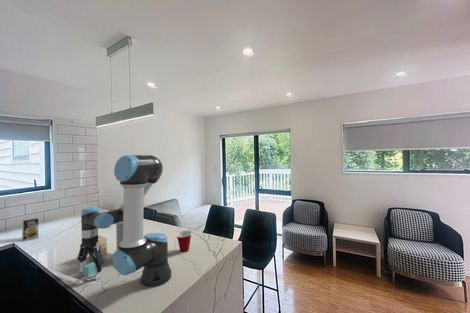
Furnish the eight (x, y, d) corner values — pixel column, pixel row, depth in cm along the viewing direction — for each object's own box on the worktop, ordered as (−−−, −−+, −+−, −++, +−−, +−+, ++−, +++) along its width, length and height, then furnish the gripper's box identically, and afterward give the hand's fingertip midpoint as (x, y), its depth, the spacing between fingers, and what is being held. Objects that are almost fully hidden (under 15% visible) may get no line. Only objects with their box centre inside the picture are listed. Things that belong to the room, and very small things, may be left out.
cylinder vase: (133, 254, 142) (132, 216, 143) (142, 259, 134) (142, 219, 135) (113, 261, 133) (112, 221, 133) (122, 267, 125) (121, 224, 125)
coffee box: (23, 241, 173) (23, 221, 173) (22, 239, 177) (22, 220, 177) (38, 238, 180) (38, 218, 180) (37, 236, 184) (36, 217, 184)
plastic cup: (173, 251, 145) (172, 233, 146) (186, 246, 154) (185, 229, 154) (182, 255, 138) (181, 237, 139) (195, 250, 146) (195, 232, 147)
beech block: (106, 246, 137) (106, 237, 137) (95, 251, 131) (95, 241, 131) (99, 245, 140) (99, 236, 140) (88, 249, 134) (88, 239, 134)
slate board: (119, 258, 137) (119, 255, 137) (90, 271, 121) (90, 268, 121) (101, 253, 145) (101, 251, 145) (72, 265, 128) (72, 263, 128)
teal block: (98, 274, 117) (97, 263, 117) (88, 279, 112) (88, 268, 113) (92, 273, 119) (92, 262, 119) (82, 277, 115) (82, 266, 115)
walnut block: (106, 256, 137) (106, 246, 137) (95, 260, 131) (95, 251, 131) (100, 254, 140) (99, 245, 140) (88, 258, 134) (88, 249, 134)
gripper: (111, 236, 114) (111, 276, 114) (83, 231, 125) (84, 268, 124) (97, 241, 108) (97, 284, 107) (69, 235, 118) (69, 274, 118)
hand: (90, 275), depth 116 cm, fingers open, 12 cm apart
